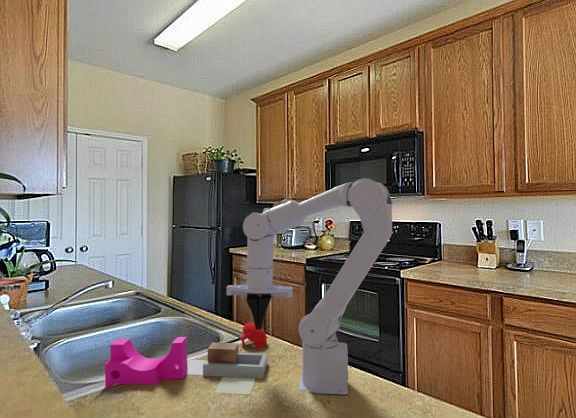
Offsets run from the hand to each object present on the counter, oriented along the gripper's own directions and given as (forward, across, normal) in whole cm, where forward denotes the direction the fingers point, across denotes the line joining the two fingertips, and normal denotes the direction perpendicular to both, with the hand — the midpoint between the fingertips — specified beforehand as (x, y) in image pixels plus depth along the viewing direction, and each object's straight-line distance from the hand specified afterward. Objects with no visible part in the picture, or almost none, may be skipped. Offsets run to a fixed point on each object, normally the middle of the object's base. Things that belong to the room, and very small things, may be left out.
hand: (259, 328), depth 86 cm
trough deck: (+10, +8, 0) cm, 13 cm away
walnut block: (+9, +8, 0) cm, 12 cm away
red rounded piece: (+10, +4, -16) cm, 19 cm away
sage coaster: (+10, +4, +8) cm, 13 cm away
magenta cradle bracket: (+10, +22, +6) cm, 25 cm away
